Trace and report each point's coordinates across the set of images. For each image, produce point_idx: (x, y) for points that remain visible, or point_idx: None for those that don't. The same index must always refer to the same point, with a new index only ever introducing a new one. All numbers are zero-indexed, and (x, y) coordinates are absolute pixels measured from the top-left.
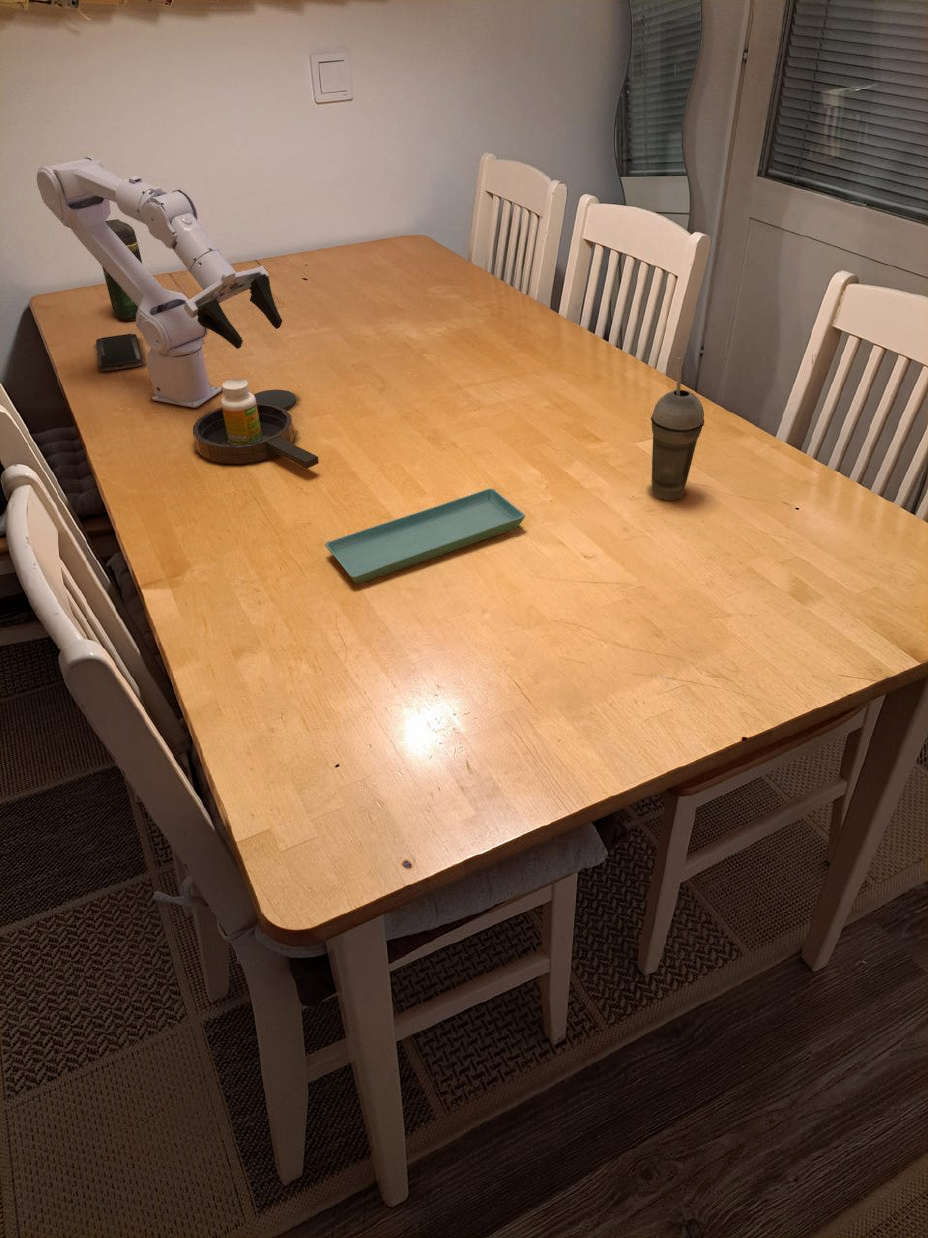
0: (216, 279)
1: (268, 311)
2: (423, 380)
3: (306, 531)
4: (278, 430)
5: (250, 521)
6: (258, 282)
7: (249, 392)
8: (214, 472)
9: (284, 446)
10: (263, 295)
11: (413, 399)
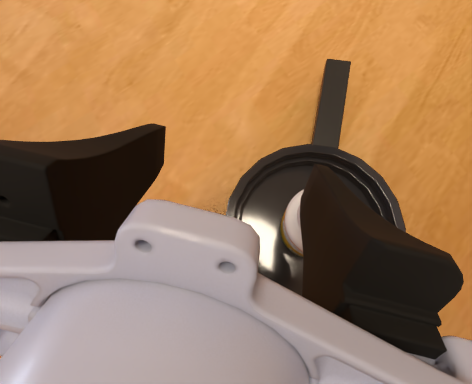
0: (270, 349)
1: (138, 170)
2: (13, 129)
3: (435, 10)
4: (253, 205)
5: (466, 74)
6: (62, 156)
7: (293, 211)
8: (408, 204)
9: (332, 116)
10: (110, 154)
11: (76, 105)
